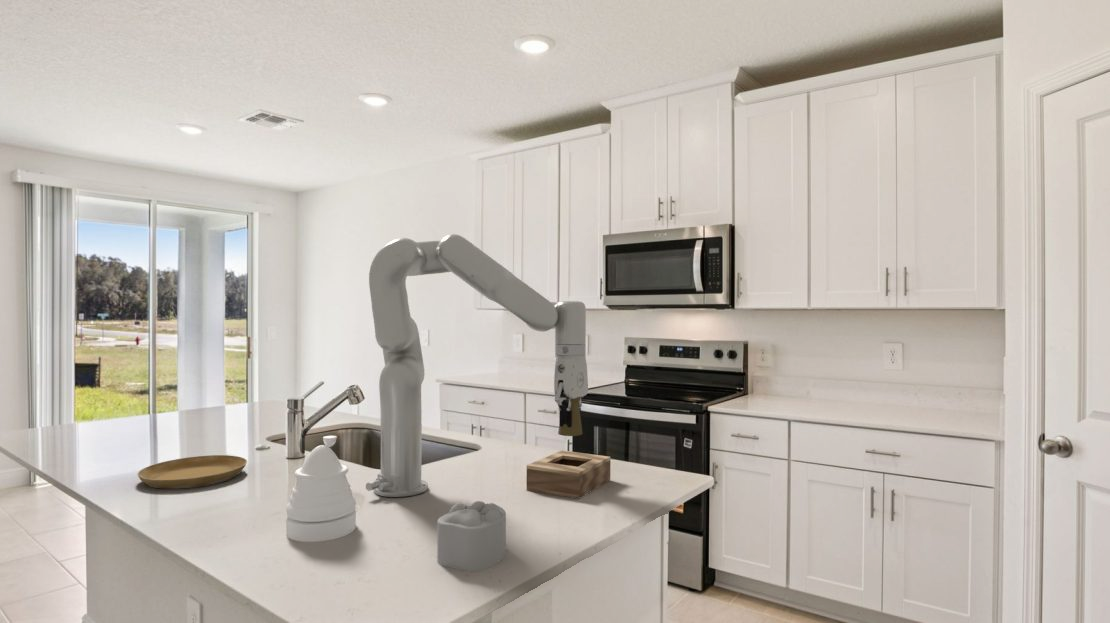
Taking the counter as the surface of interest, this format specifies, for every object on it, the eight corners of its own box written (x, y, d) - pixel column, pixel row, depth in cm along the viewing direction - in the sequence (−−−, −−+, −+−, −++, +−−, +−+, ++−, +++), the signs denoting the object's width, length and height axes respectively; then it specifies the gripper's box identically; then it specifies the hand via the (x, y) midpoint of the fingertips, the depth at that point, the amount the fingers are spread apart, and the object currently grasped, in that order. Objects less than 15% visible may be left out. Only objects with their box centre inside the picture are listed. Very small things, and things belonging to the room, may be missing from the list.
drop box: (578, 498, 146) (578, 472, 146) (526, 490, 152) (526, 465, 152) (610, 480, 161) (610, 456, 161) (561, 473, 168) (562, 450, 168)
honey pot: (325, 515, 134) (326, 429, 133) (369, 526, 127) (369, 436, 127) (271, 533, 123) (271, 440, 122) (316, 546, 116) (316, 448, 116)
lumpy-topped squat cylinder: (429, 562, 109) (429, 512, 109) (471, 538, 121) (472, 493, 121) (479, 574, 105) (479, 522, 104) (519, 548, 116) (519, 500, 116)
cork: (583, 431, 159) (583, 387, 159) (581, 436, 153) (581, 390, 153) (559, 430, 160) (559, 387, 160) (556, 435, 154) (557, 390, 154)
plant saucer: (123, 496, 146) (123, 482, 146) (152, 471, 169) (152, 458, 169) (239, 487, 154) (239, 474, 154) (252, 464, 177) (252, 452, 177)
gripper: (568, 354, 147) (567, 432, 148) (598, 349, 162) (598, 421, 162) (540, 352, 151) (540, 429, 151) (572, 348, 166) (572, 418, 166)
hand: (570, 424), depth 157 cm, fingers closed on cork, 4 cm apart
